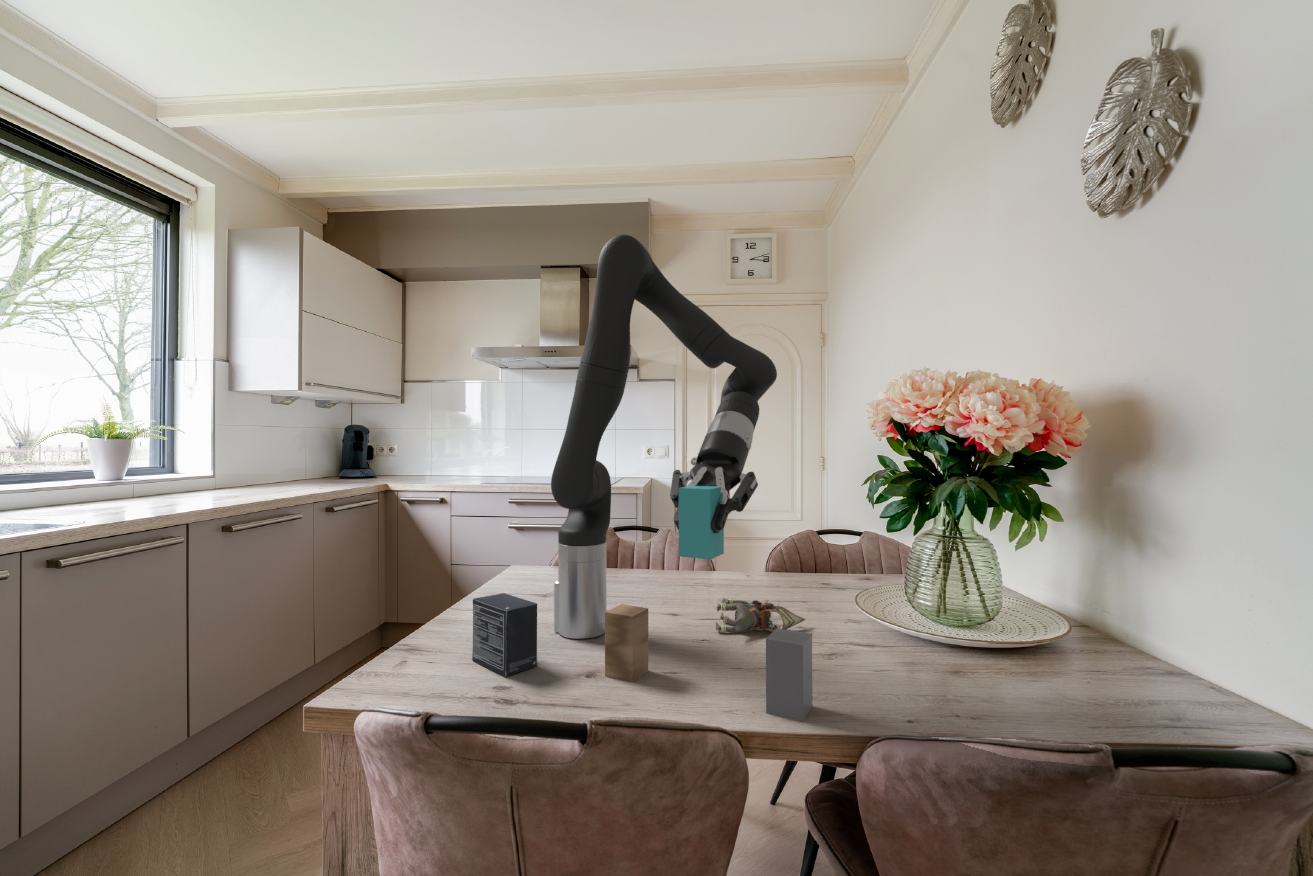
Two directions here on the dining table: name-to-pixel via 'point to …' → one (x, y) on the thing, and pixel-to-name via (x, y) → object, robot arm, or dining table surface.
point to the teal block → (699, 522)
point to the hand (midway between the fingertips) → (696, 528)
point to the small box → (504, 633)
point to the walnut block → (626, 642)
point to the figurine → (754, 616)
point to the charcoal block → (789, 674)
